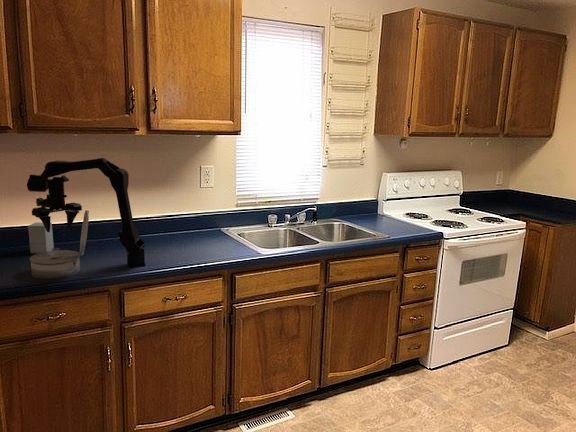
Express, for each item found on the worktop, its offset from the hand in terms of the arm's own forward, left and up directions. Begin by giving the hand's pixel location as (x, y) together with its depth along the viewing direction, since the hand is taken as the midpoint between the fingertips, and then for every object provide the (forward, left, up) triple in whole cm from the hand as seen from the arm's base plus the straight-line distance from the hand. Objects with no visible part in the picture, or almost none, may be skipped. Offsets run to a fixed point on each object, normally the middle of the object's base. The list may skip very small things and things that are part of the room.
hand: (58, 230), depth 194 cm
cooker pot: (+2, +8, -14) cm, 16 cm away
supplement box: (+8, -21, -14) cm, 27 cm away
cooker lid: (-9, +12, +1) cm, 15 cm away
